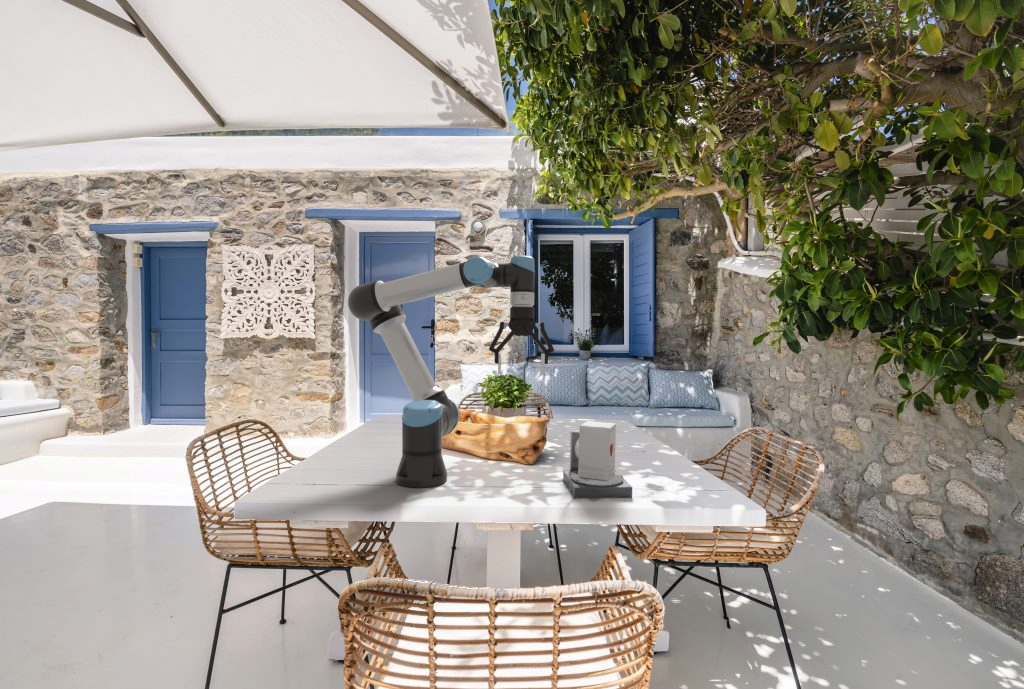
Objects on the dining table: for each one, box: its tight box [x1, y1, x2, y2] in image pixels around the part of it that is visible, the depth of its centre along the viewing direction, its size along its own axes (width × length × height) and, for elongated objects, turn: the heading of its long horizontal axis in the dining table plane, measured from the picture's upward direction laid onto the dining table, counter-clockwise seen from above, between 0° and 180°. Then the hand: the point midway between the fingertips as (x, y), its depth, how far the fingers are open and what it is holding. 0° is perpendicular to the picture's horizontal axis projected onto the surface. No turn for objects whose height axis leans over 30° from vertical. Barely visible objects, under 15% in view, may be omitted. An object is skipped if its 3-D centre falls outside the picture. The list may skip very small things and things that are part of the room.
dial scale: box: [562, 430, 633, 500], centre depth 153 cm, size 16×18×15 cm
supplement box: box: [578, 420, 617, 481], centre depth 152 cm, size 9×9×15 cm
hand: (521, 374), depth 164 cm, fingers open, 13 cm apart
